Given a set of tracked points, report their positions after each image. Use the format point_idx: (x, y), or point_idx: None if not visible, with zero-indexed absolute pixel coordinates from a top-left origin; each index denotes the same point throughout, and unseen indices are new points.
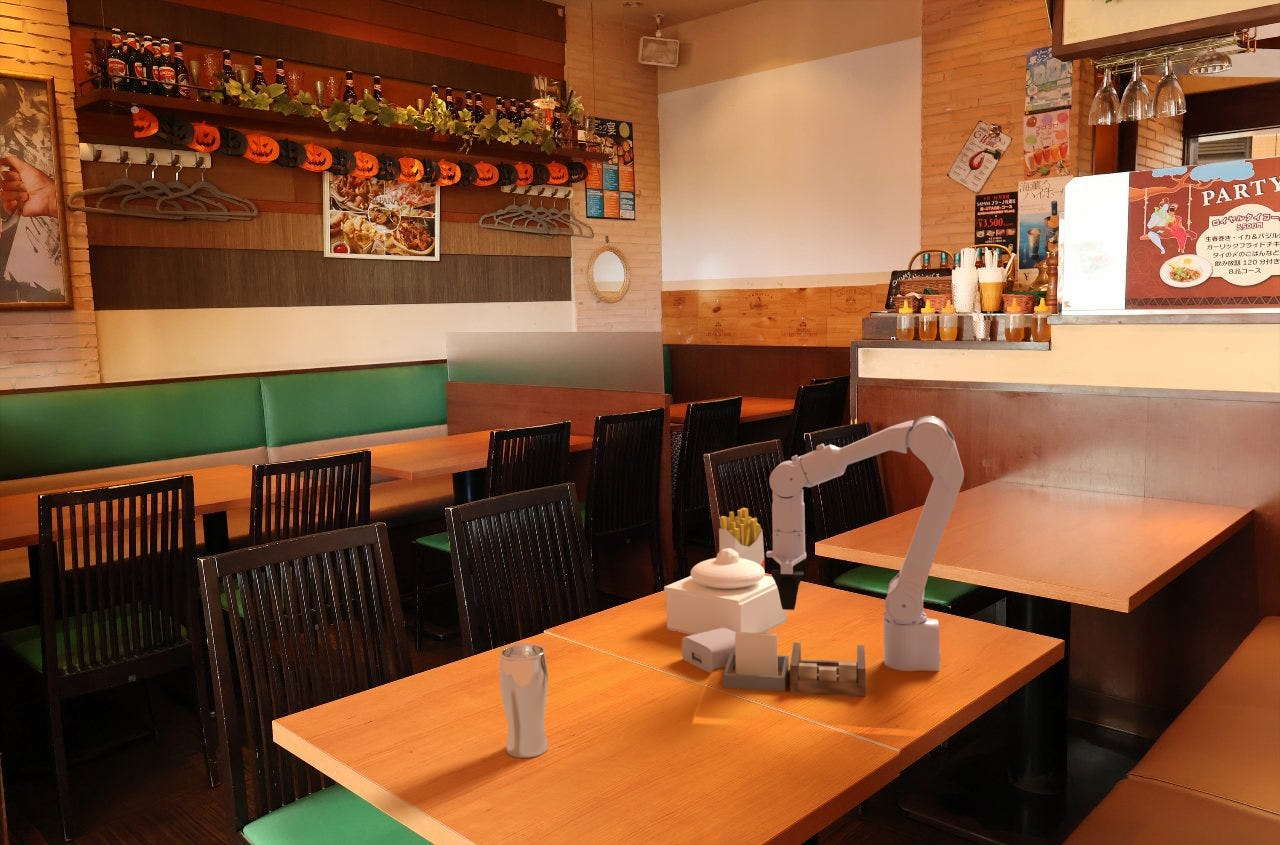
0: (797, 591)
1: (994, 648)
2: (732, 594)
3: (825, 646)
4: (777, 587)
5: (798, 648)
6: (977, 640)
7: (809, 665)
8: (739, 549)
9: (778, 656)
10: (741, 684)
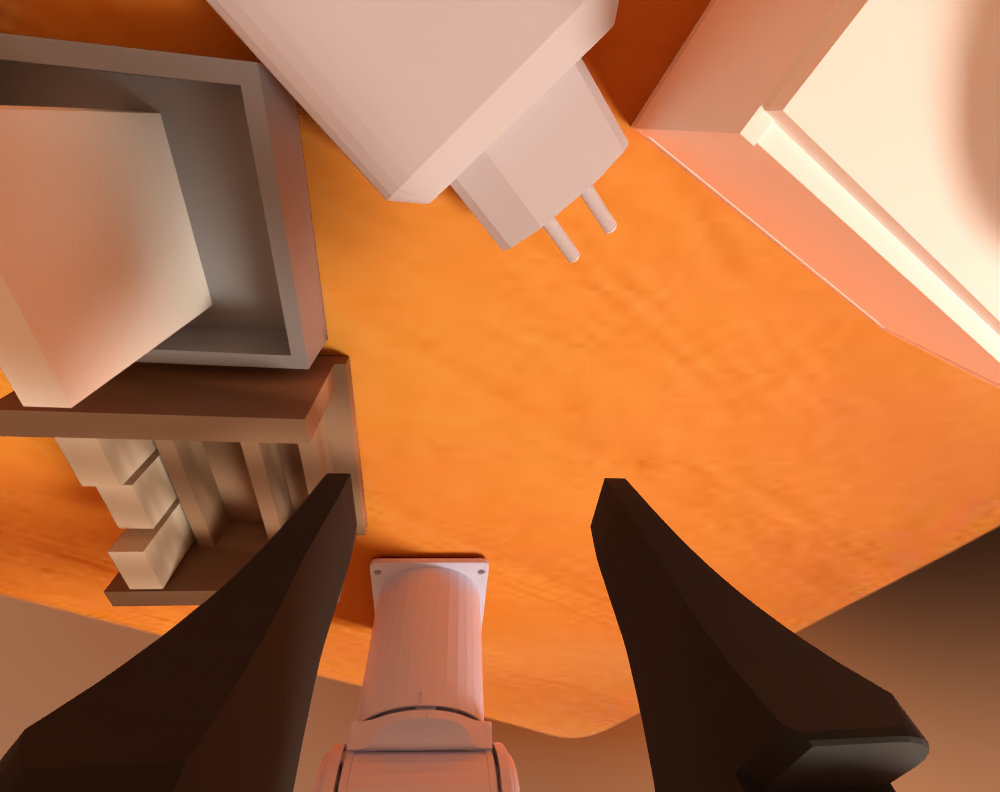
0: (597, 560)
1: (552, 692)
2: (989, 41)
3: (588, 444)
4: (198, 607)
5: (231, 436)
6: (598, 677)
7: (83, 465)
8: None
9: (288, 330)
10: None
